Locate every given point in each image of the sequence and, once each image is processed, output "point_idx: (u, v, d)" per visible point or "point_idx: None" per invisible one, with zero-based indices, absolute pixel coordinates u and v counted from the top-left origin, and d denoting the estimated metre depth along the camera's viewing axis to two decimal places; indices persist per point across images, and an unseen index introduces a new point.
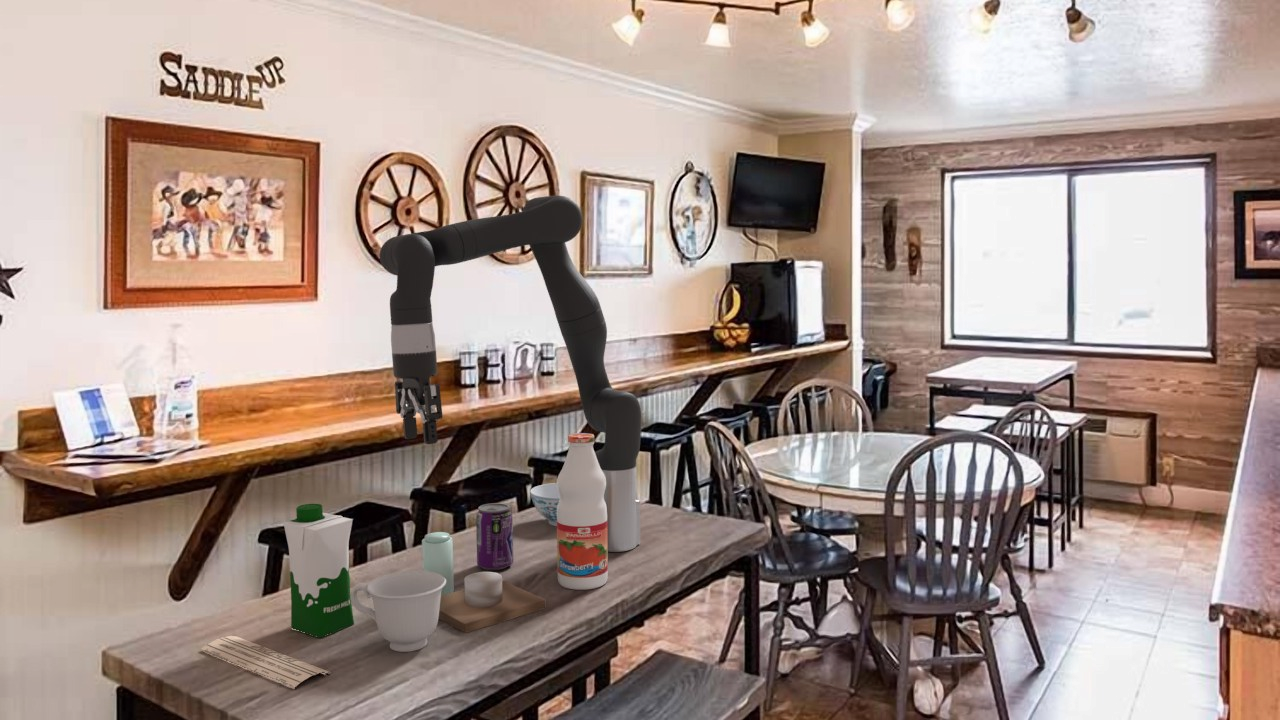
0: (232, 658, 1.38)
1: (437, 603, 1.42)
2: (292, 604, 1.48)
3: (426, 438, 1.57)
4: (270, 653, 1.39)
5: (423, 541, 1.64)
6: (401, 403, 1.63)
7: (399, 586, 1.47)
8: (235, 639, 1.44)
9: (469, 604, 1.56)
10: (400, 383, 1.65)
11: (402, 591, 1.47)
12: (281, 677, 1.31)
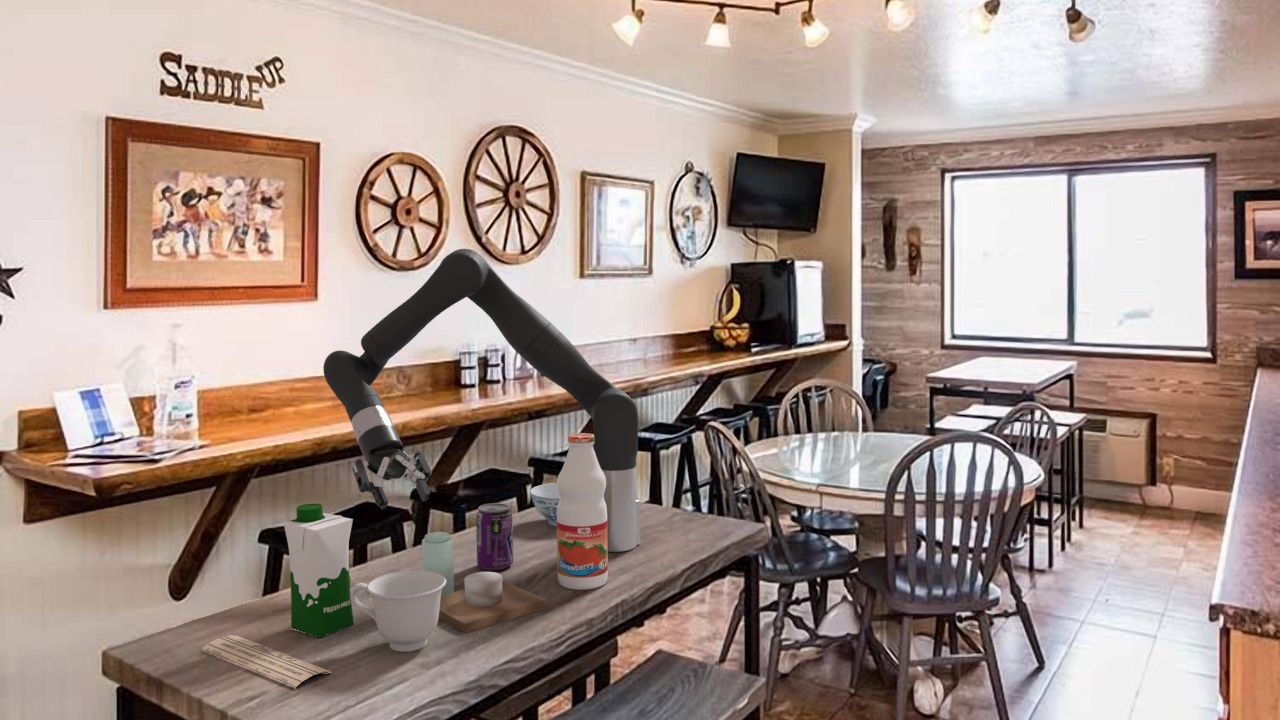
0: (233, 657, 1.38)
1: (437, 603, 1.42)
2: (292, 604, 1.48)
3: None
4: (271, 652, 1.39)
5: (423, 541, 1.64)
6: None
7: (399, 586, 1.47)
8: (236, 638, 1.44)
9: (469, 604, 1.56)
10: None
11: (402, 591, 1.47)
12: (282, 676, 1.31)
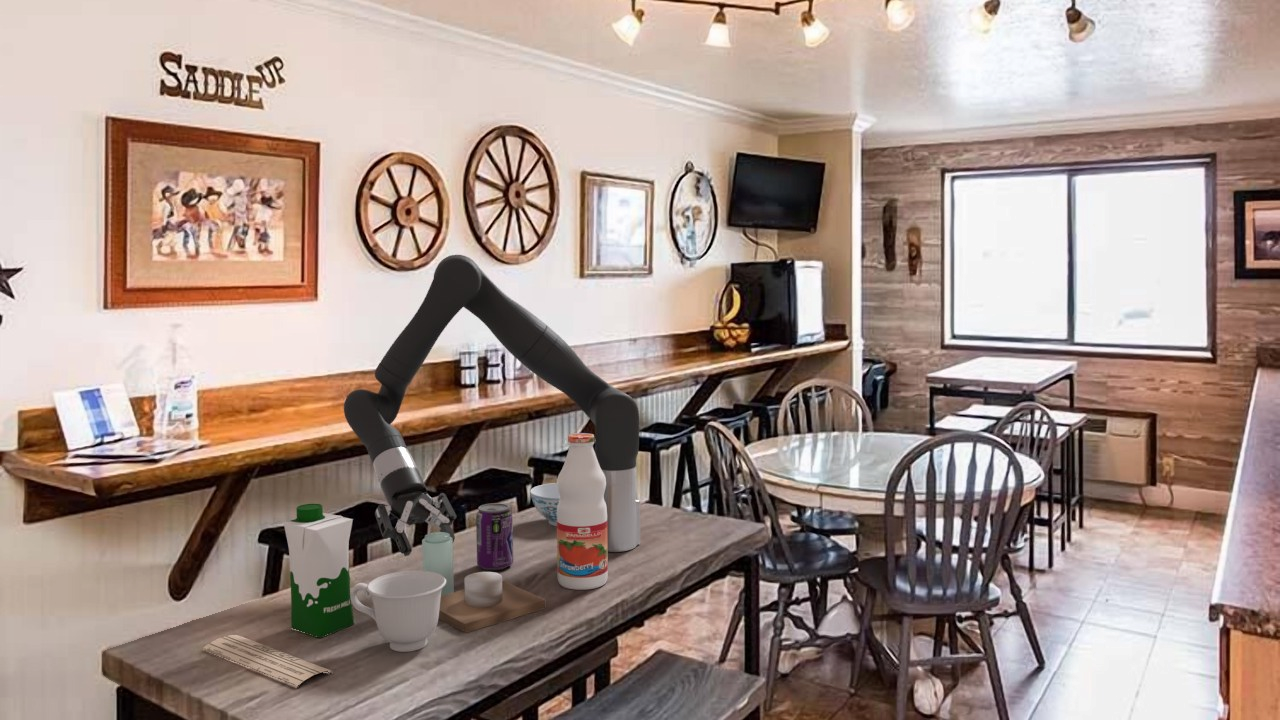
0: (234, 657, 1.38)
1: (437, 603, 1.42)
2: (292, 604, 1.48)
3: None
4: (272, 652, 1.39)
5: (423, 541, 1.64)
6: None
7: (399, 586, 1.47)
8: (237, 638, 1.44)
9: (469, 604, 1.56)
10: None
11: (402, 591, 1.47)
12: (284, 676, 1.31)
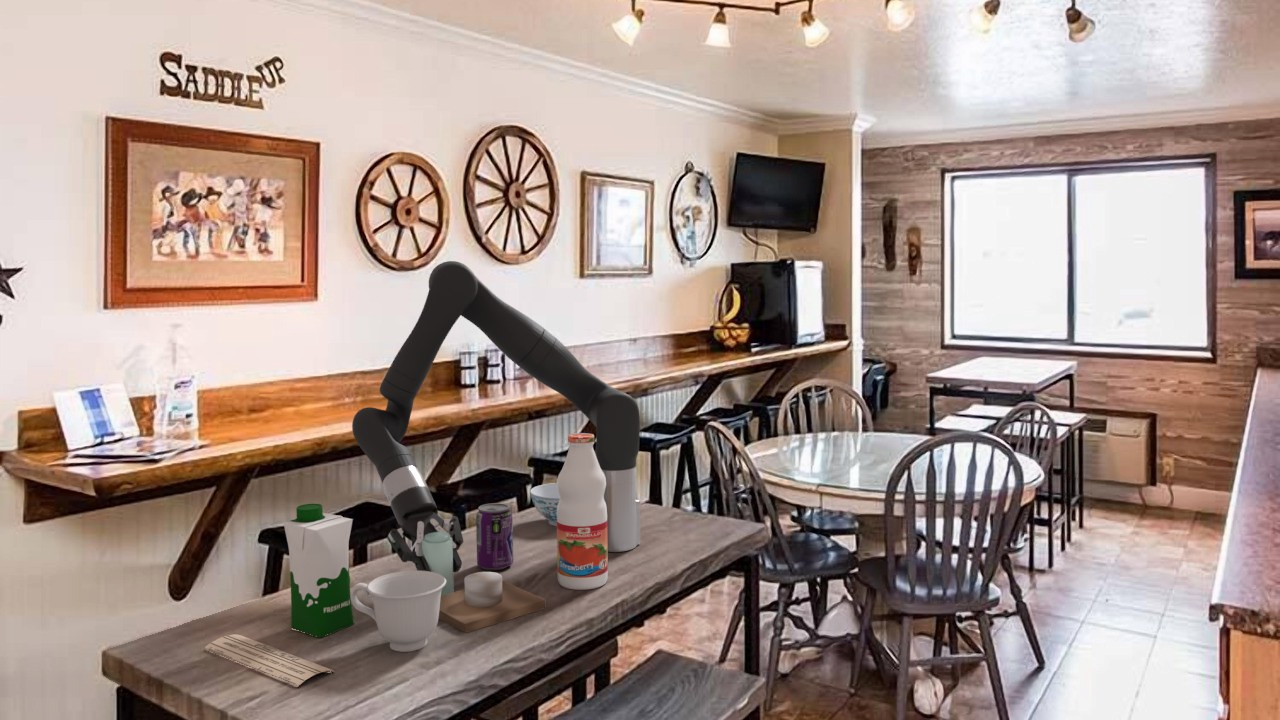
0: (236, 656, 1.38)
1: (437, 603, 1.42)
2: (292, 604, 1.48)
3: None
4: (274, 651, 1.39)
5: (423, 541, 1.64)
6: None
7: (399, 586, 1.47)
8: (239, 637, 1.44)
9: (469, 604, 1.56)
10: None
11: (402, 591, 1.47)
12: (285, 675, 1.31)
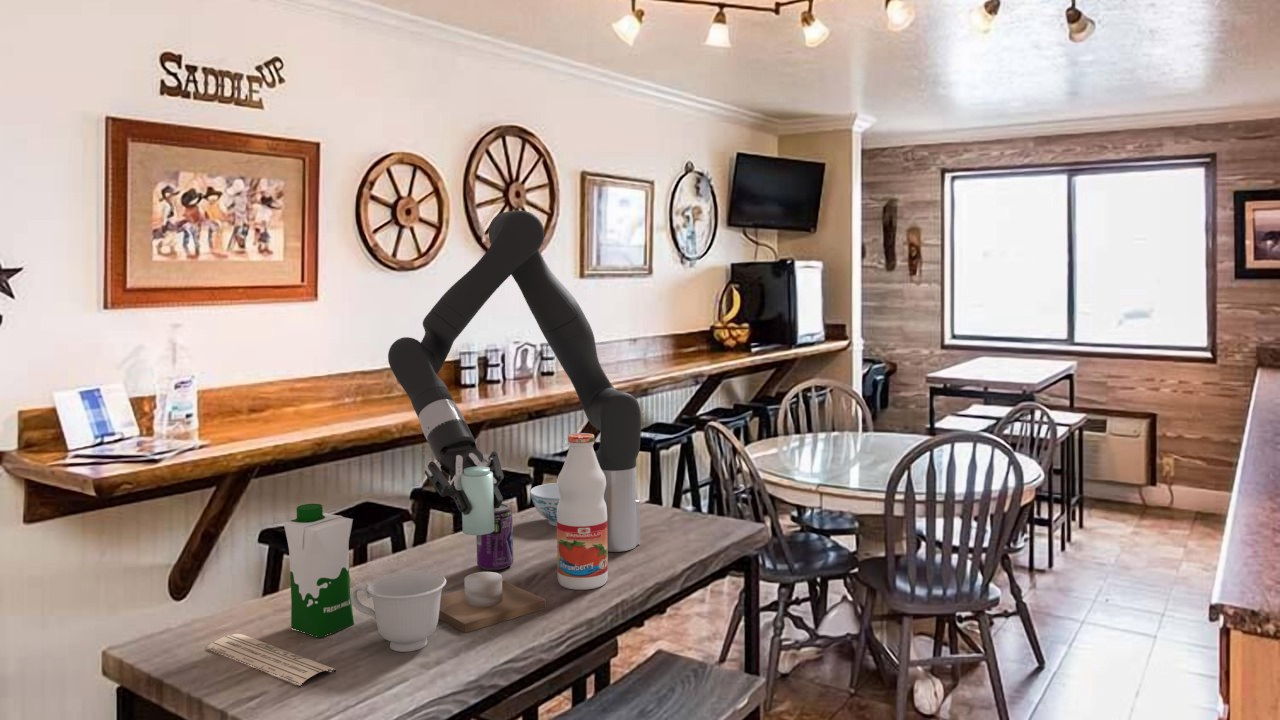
0: (238, 655, 1.38)
1: (437, 603, 1.42)
2: (292, 604, 1.48)
3: None
4: (276, 651, 1.39)
5: (462, 475, 1.56)
6: None
7: (399, 586, 1.47)
8: (241, 637, 1.45)
9: (469, 604, 1.56)
10: None
11: (402, 591, 1.47)
12: (287, 674, 1.32)
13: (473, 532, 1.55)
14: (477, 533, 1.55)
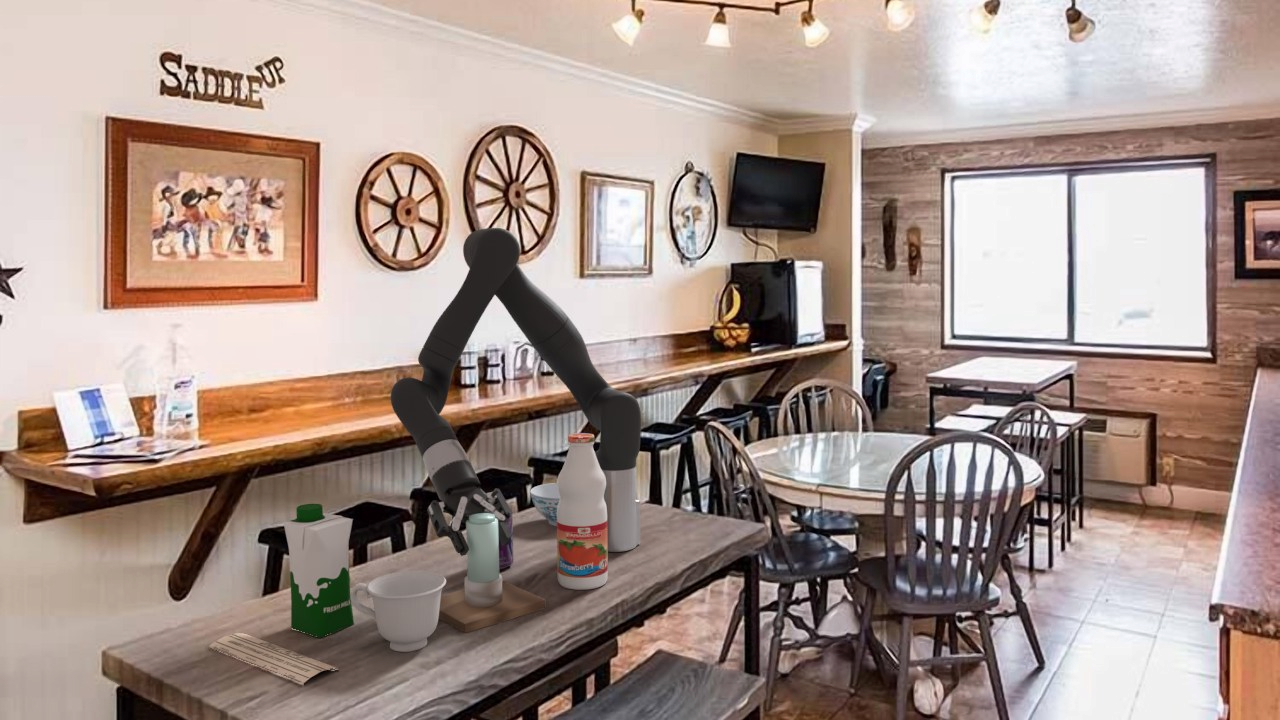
0: (241, 654, 1.39)
1: (437, 603, 1.42)
2: (292, 604, 1.48)
3: None
4: (278, 650, 1.40)
5: (467, 522, 1.56)
6: None
7: (399, 586, 1.47)
8: (243, 636, 1.45)
9: (469, 604, 1.56)
10: None
11: (402, 591, 1.47)
12: (290, 673, 1.32)
13: (478, 580, 1.55)
14: (482, 581, 1.55)
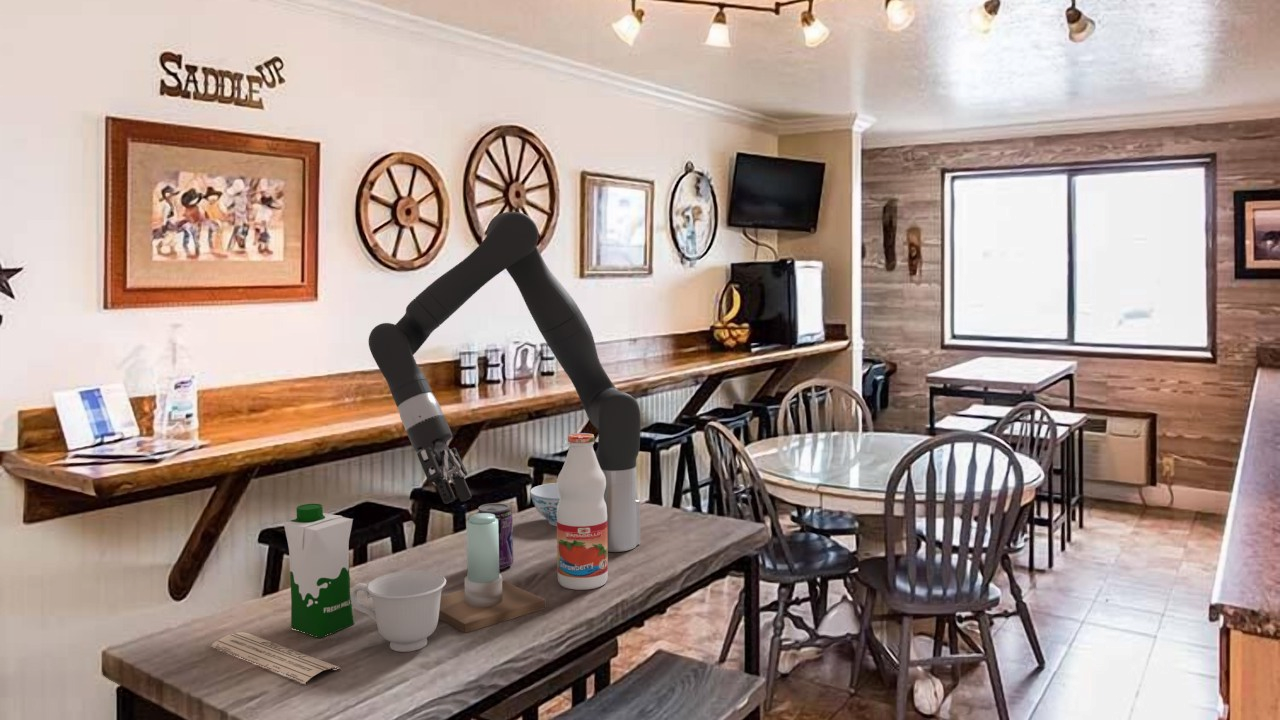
0: (243, 653, 1.39)
1: (437, 603, 1.42)
2: (292, 604, 1.48)
3: (442, 498, 1.65)
4: (280, 649, 1.40)
5: (468, 522, 1.56)
6: None
7: (399, 586, 1.47)
8: (245, 635, 1.45)
9: (469, 604, 1.56)
10: None
11: (402, 591, 1.47)
12: (292, 672, 1.32)
13: (478, 580, 1.55)
14: (482, 581, 1.56)
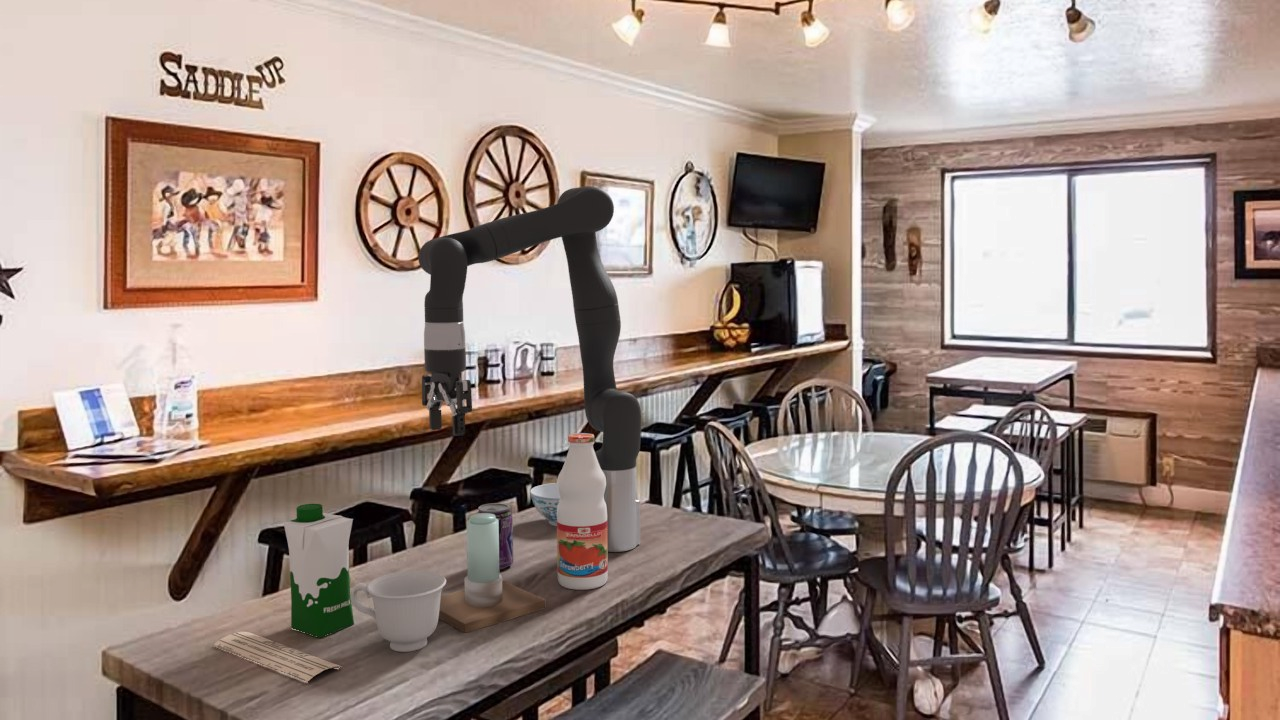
0: (245, 653, 1.39)
1: (437, 603, 1.42)
2: (292, 604, 1.48)
3: (455, 430, 1.68)
4: (282, 648, 1.40)
5: (468, 522, 1.56)
6: (429, 396, 1.72)
7: (399, 586, 1.47)
8: (247, 635, 1.46)
9: (469, 604, 1.56)
10: (427, 377, 1.75)
11: (402, 591, 1.47)
12: (294, 671, 1.33)
13: (478, 580, 1.55)
14: (482, 581, 1.56)
